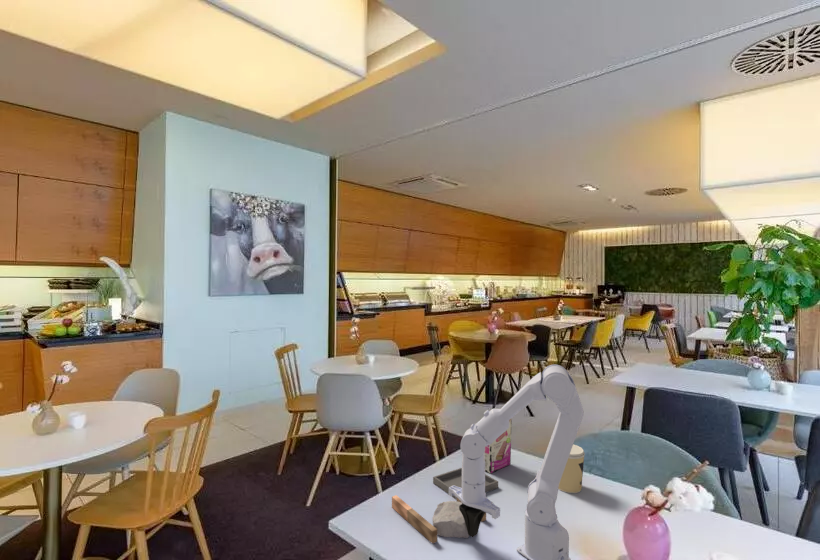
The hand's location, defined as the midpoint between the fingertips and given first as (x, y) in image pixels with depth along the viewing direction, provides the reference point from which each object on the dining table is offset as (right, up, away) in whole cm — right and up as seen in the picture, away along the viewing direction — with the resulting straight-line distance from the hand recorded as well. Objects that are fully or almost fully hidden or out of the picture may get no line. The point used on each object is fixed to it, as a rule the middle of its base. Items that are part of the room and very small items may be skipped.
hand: (472, 534), depth 101 cm
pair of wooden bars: (-8, -2, +12) cm, 14 cm away
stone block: (-4, -2, +7) cm, 9 cm away
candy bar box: (+14, -2, +40) cm, 43 cm away
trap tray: (+2, -2, +27) cm, 27 cm away
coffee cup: (+34, -2, +27) cm, 43 cm away
